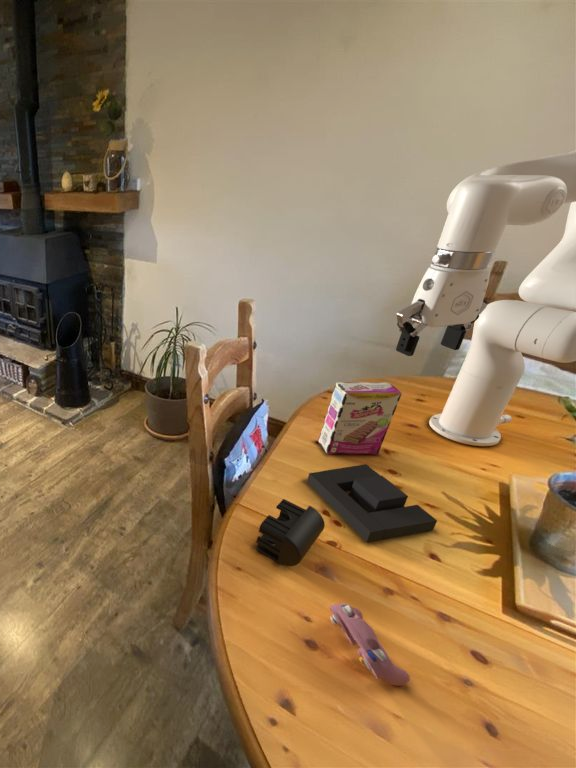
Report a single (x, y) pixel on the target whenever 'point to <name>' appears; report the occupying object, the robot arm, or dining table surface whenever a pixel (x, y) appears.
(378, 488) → the black square block
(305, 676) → the dining table surface
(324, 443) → the candy bar box
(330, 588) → the dining table surface
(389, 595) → the dining table surface
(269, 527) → the end cap
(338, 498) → the notch pad
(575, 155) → the robot arm
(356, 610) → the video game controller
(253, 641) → the dining table surface
